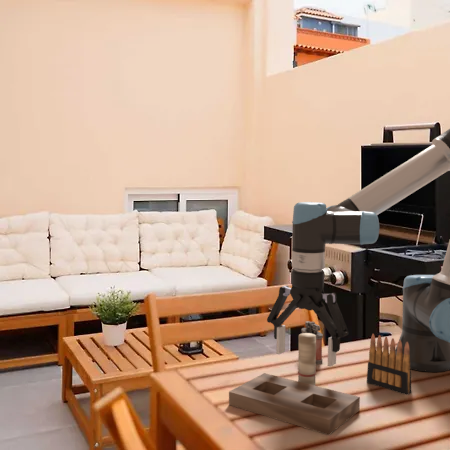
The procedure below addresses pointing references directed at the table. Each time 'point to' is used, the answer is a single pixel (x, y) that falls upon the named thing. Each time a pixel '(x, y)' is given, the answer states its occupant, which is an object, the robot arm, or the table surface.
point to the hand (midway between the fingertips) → (305, 358)
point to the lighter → (314, 329)
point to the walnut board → (295, 402)
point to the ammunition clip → (389, 366)
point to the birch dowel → (307, 358)
